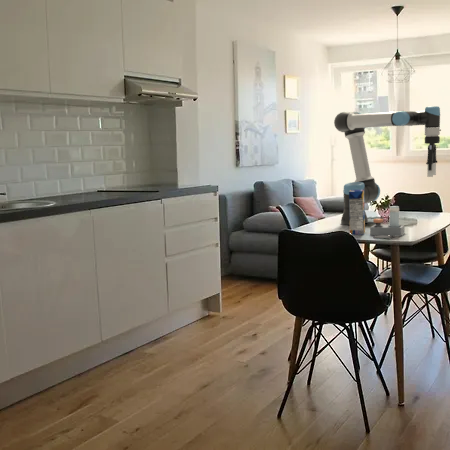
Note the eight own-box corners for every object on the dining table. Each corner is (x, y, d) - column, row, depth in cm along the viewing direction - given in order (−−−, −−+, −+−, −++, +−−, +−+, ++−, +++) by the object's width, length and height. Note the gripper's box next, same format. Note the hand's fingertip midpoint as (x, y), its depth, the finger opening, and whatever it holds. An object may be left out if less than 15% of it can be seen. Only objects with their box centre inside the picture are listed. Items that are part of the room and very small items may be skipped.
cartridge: (388, 235, 297) (388, 207, 295) (390, 233, 301) (390, 206, 299) (398, 235, 294) (398, 207, 293) (400, 233, 298) (399, 206, 297)
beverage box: (349, 234, 303) (348, 191, 300) (351, 231, 313) (350, 189, 311) (363, 234, 301) (362, 191, 298) (365, 231, 311) (364, 189, 308)
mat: (373, 238, 288) (373, 237, 288) (376, 236, 294) (376, 235, 294) (390, 239, 284) (390, 237, 284) (393, 236, 290) (393, 235, 290)
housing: (370, 235, 299) (370, 227, 298) (374, 232, 307) (374, 224, 306) (400, 236, 292) (400, 228, 291) (404, 233, 300) (404, 225, 299)
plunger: (372, 230, 300) (372, 219, 299) (374, 229, 304) (374, 218, 303) (382, 230, 298) (381, 220, 297) (384, 229, 302) (384, 218, 301)
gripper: (437, 135, 304) (436, 177, 307) (442, 135, 327) (441, 174, 330) (421, 136, 308) (421, 177, 311) (427, 135, 330) (427, 174, 333)
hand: (431, 175), depth 320 cm, fingers open, 13 cm apart
